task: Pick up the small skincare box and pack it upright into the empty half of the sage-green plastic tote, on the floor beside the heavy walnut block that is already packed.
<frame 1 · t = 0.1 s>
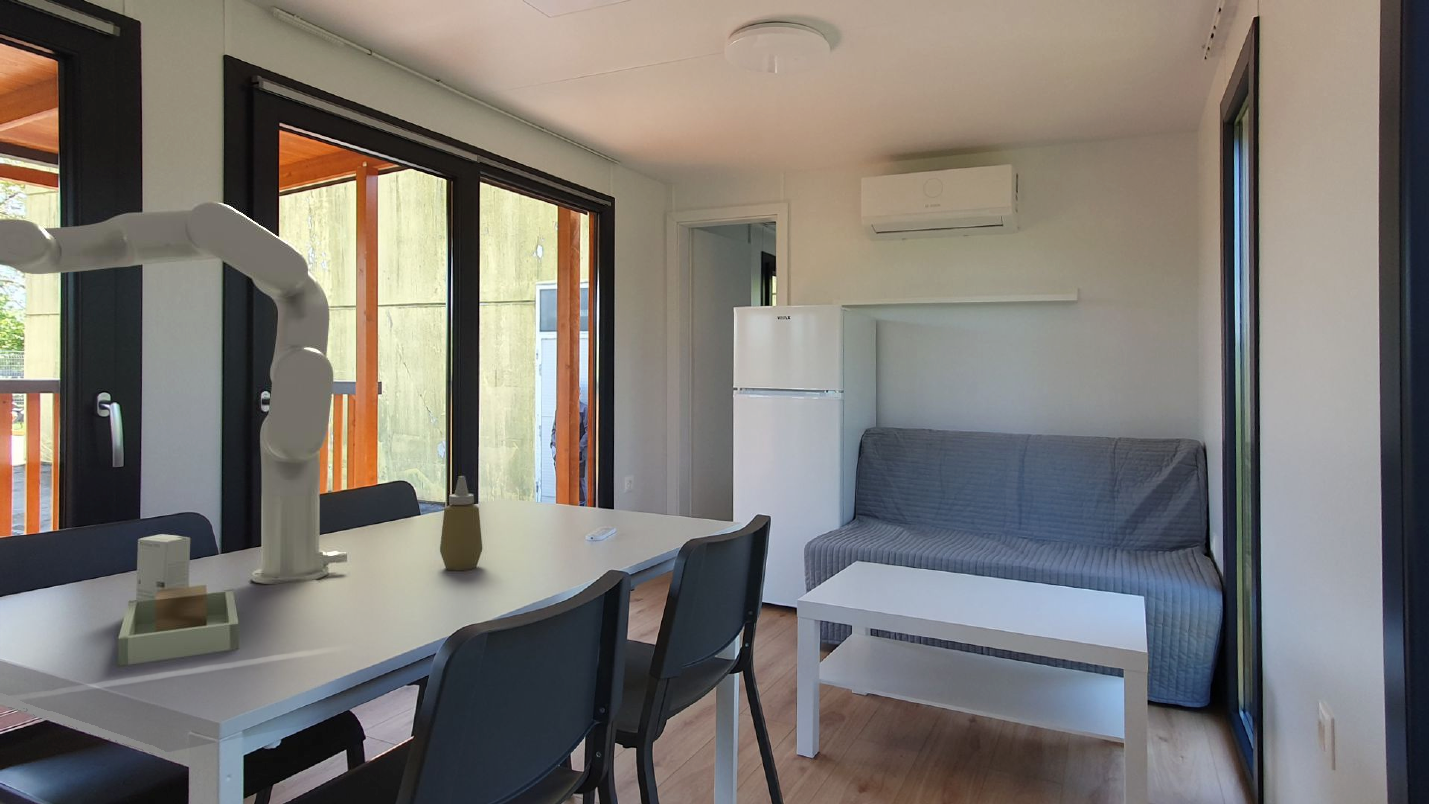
squeeze bottle: (461, 568, 157), on the table
walnut block: (181, 626, 117), point 1 cm above the table, touching tote
tote: (181, 639, 112), on the table
skincare box: (163, 616, 124), on the table
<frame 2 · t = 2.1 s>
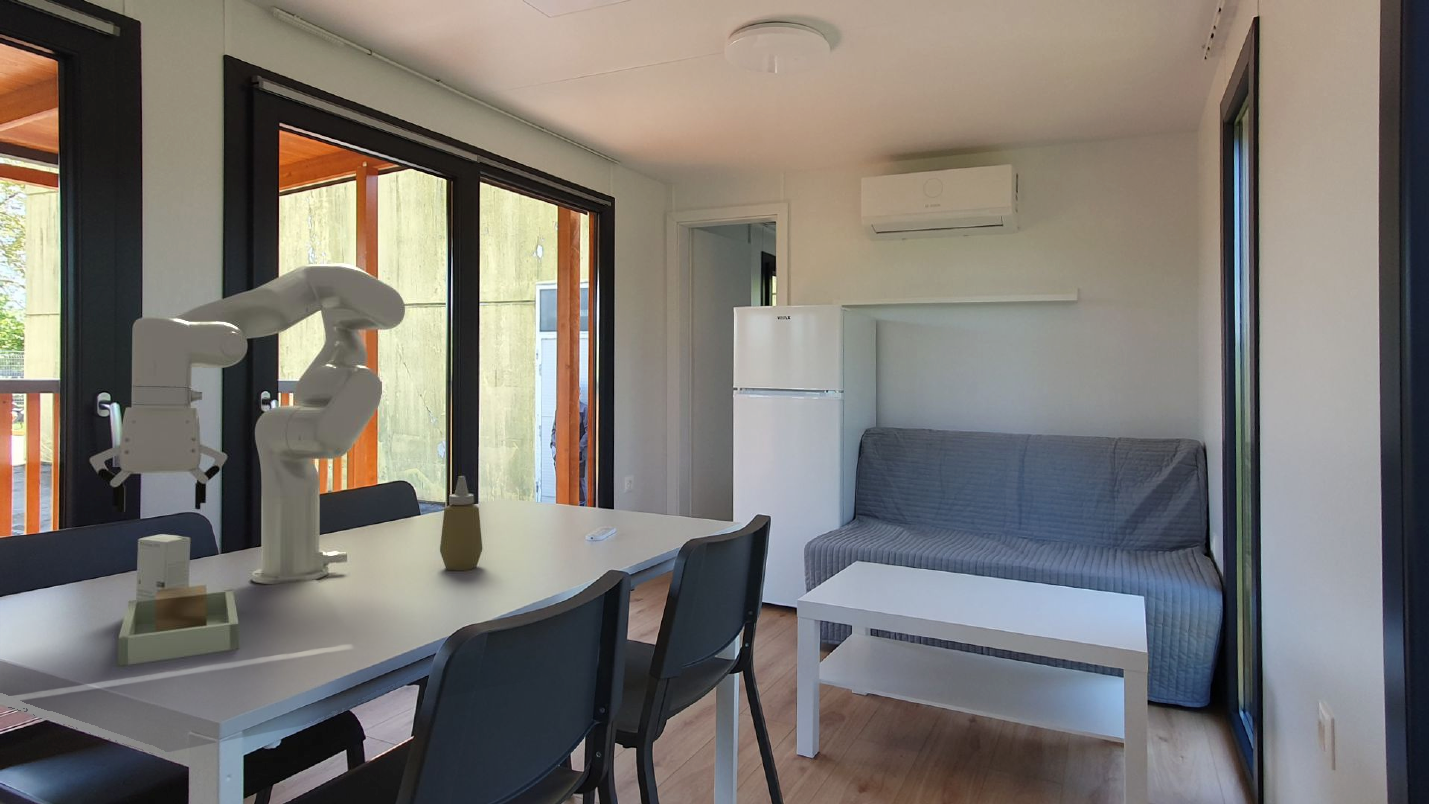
hand: (160, 510, 123), 16 cm above the table, fingers open, 9 cm apart
nothing on the table moved.
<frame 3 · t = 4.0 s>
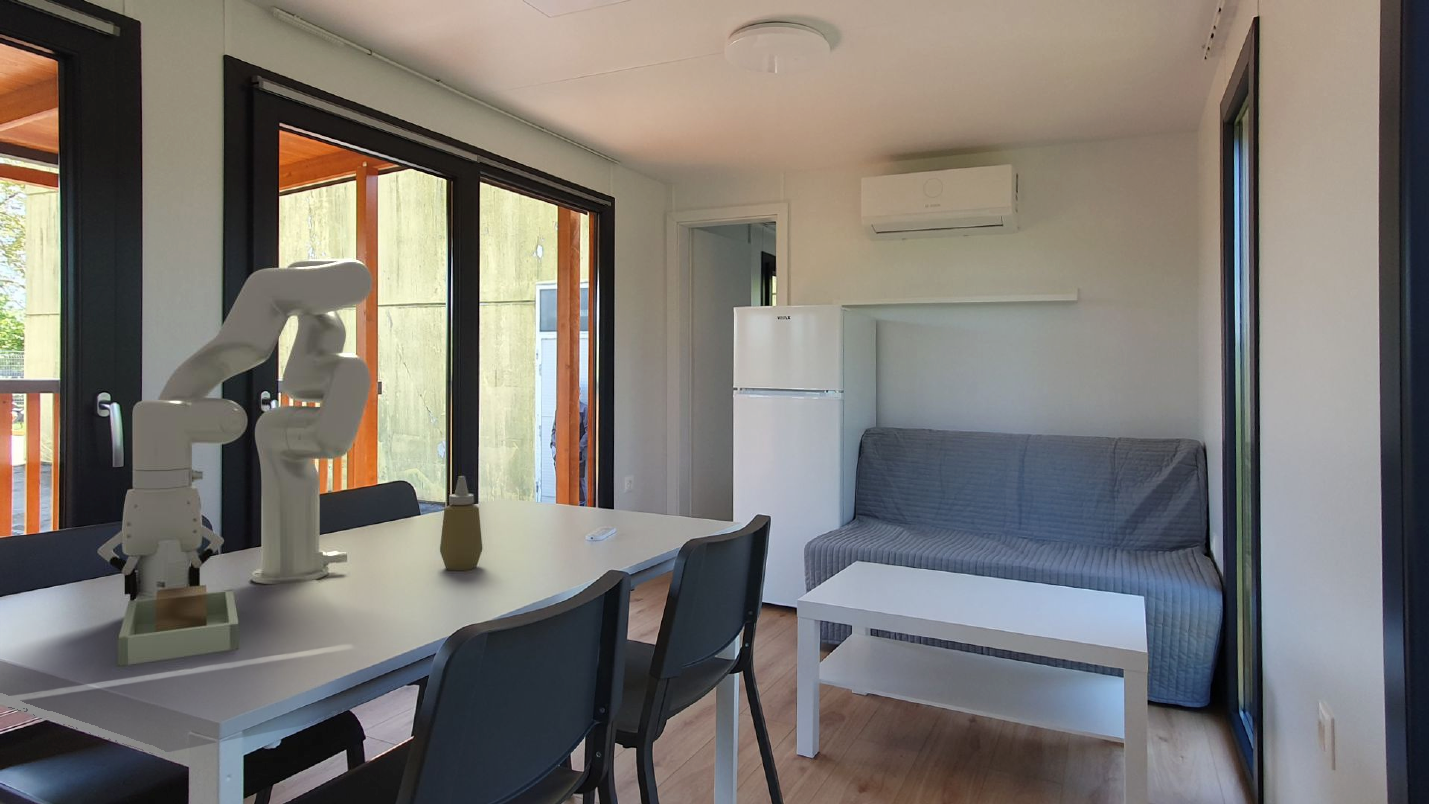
hand: (163, 594, 124), 3 cm above the table, fingers closed on skincare box, 6 cm apart
skincare box: (163, 616, 124), on the table, touching gripper
everything else where it was.
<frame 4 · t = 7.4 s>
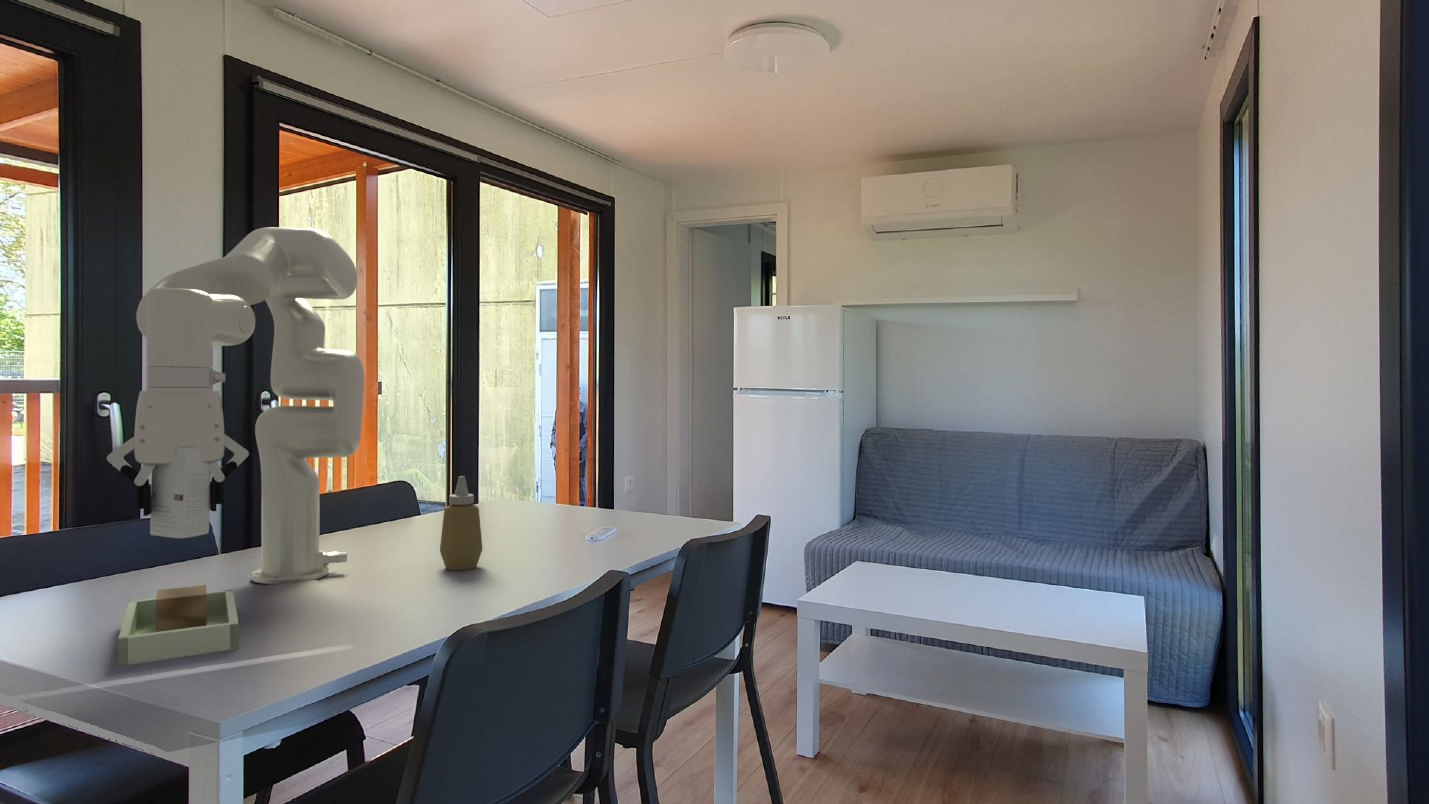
hand: (180, 511, 109), 19 cm above the table, fingers closed on skincare box, 6 cm apart
skincare box: (181, 536, 109), point 15 cm above the table, touching gripper
everything else where it was.
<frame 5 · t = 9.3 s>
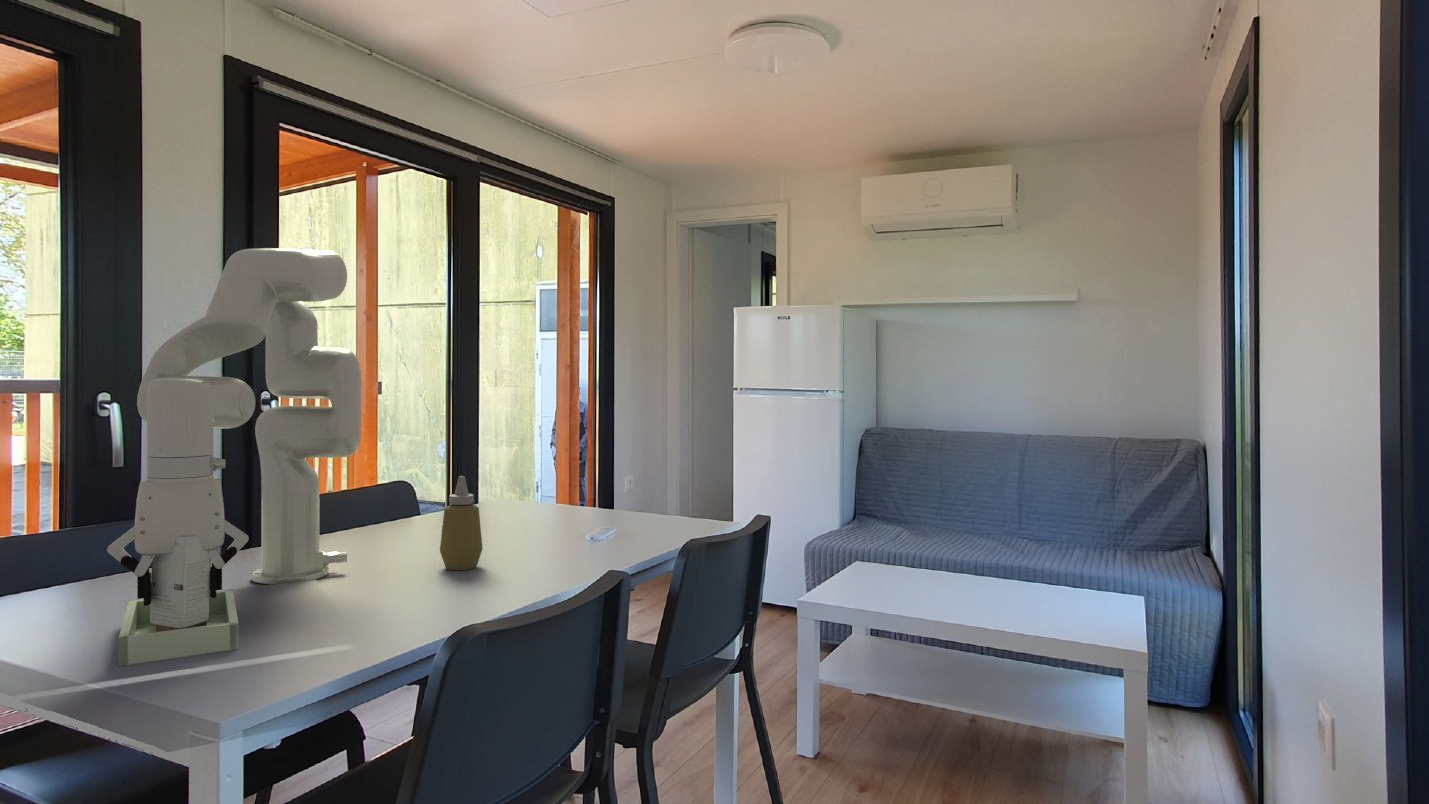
hand: (180, 598, 109), 7 cm above the table, fingers closed on skincare box, 6 cm apart
skincare box: (181, 623, 109), point 3 cm above the table, touching gripper
everything else where it was.
when the fingers open (5 cm above the table, at t = 10.7 s): skincare box drops 1 cm, resting on tote.
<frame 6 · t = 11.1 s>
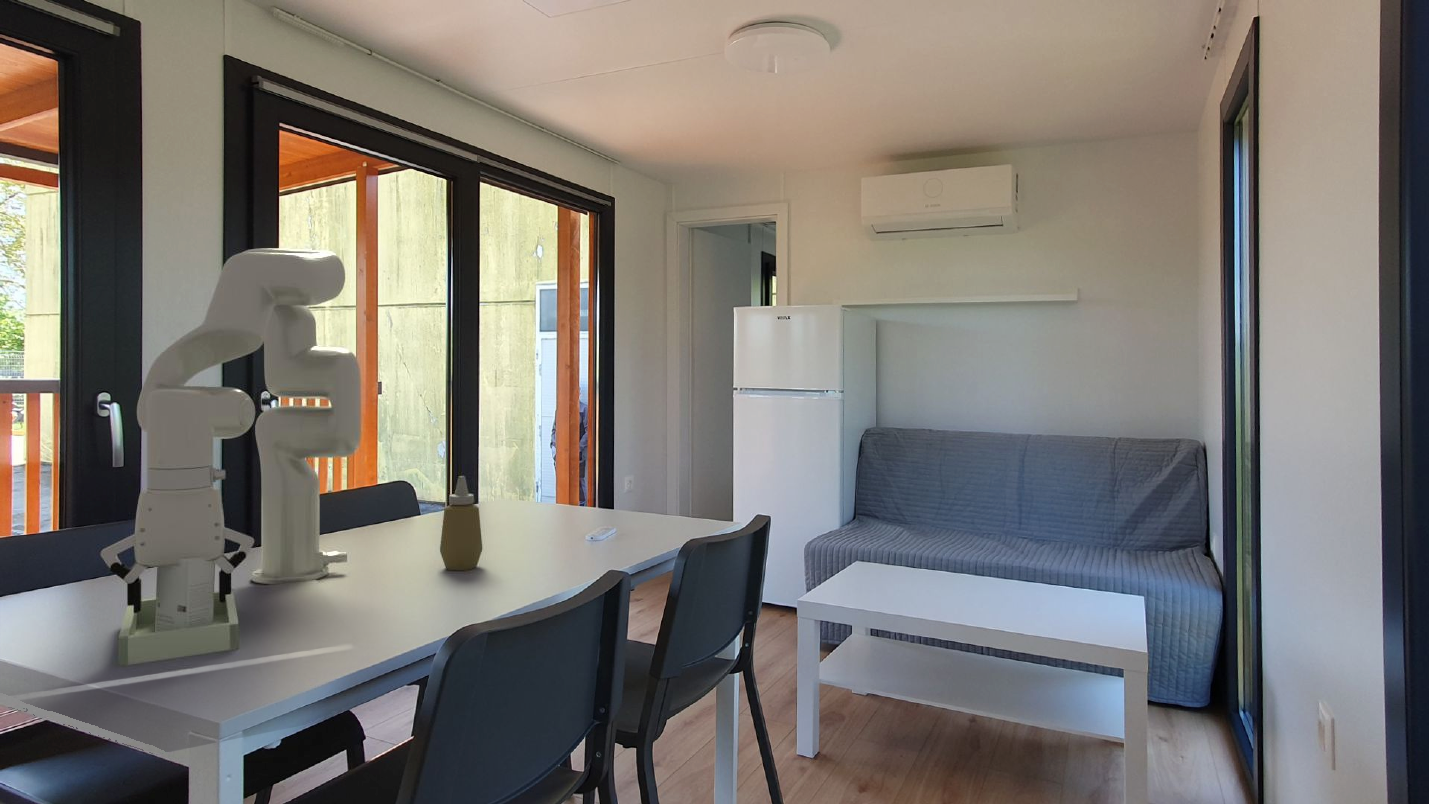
hand: (180, 605, 109), 6 cm above the table, fingers open, 9 cm apart
skincare box: (185, 644, 109), resting on tote
everything else where it was.
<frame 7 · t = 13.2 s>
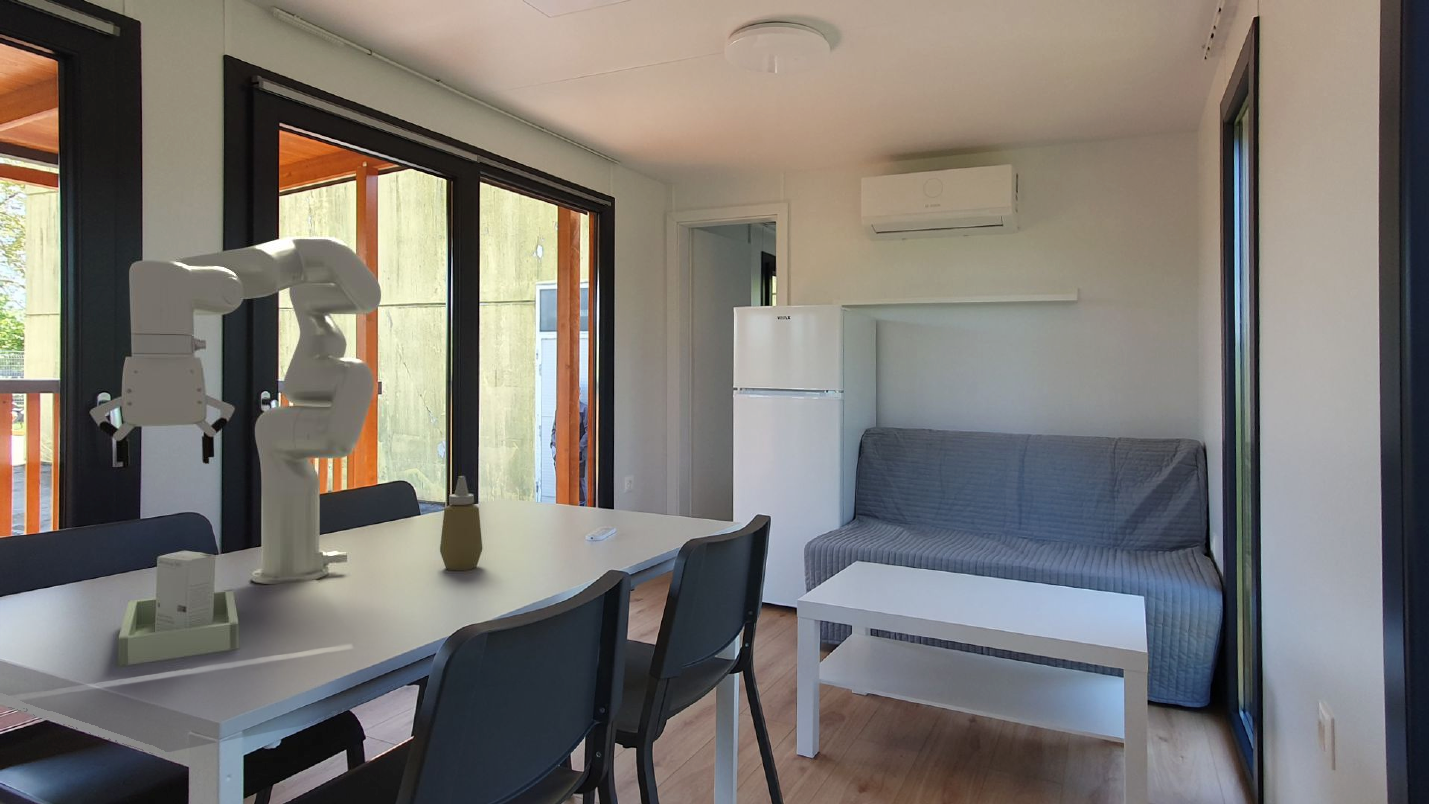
hand: (166, 464, 117), 24 cm above the table, fingers open, 9 cm apart
nothing on the table moved.
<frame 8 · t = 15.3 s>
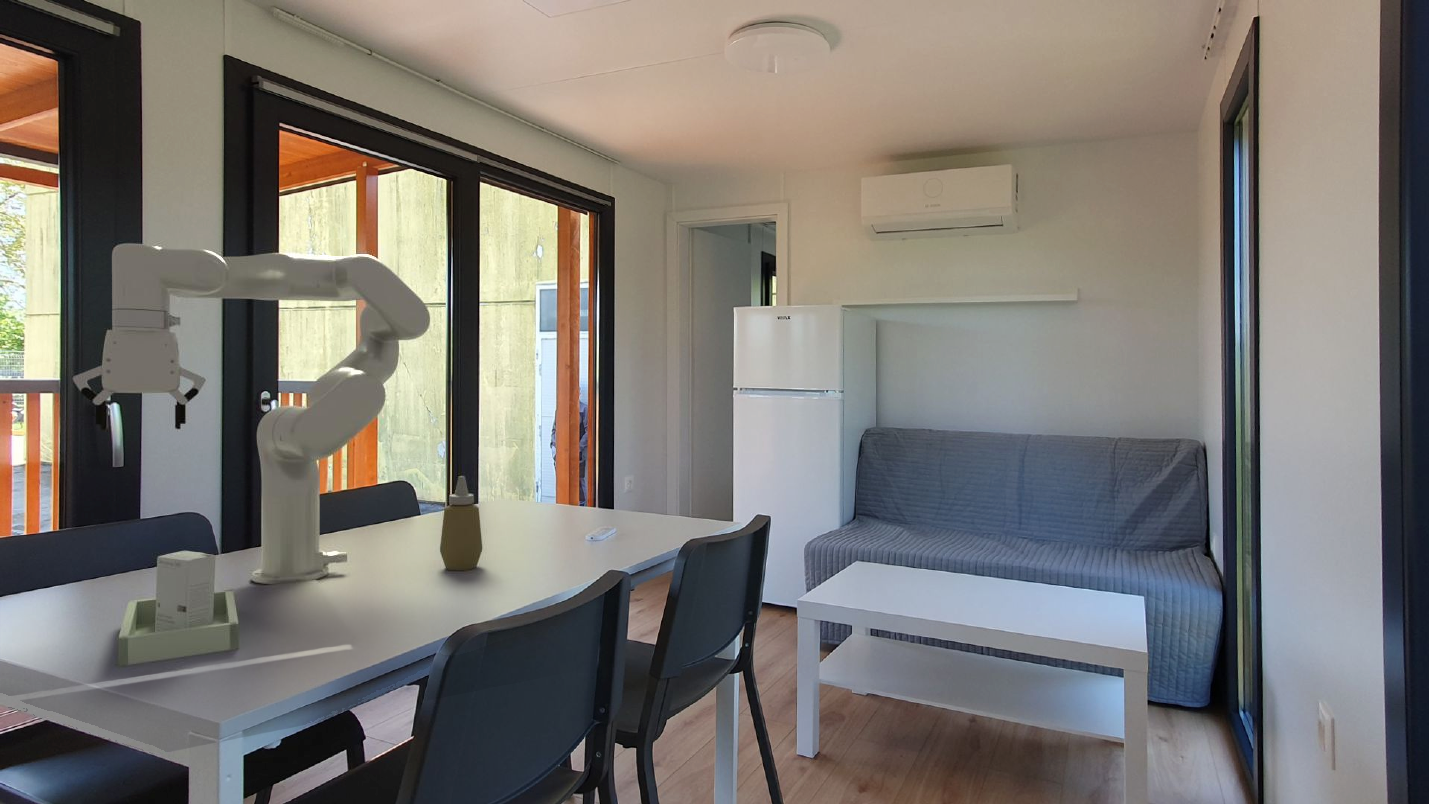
hand: (142, 429, 129), 28 cm above the table, fingers open, 9 cm apart
nothing on the table moved.
at the end: skincare box inside the target area on the tote (0.6 cm from its centre), point 0.4 cm above the tote's base; skincare box tilted 0°; the gripper is holding nothing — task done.
